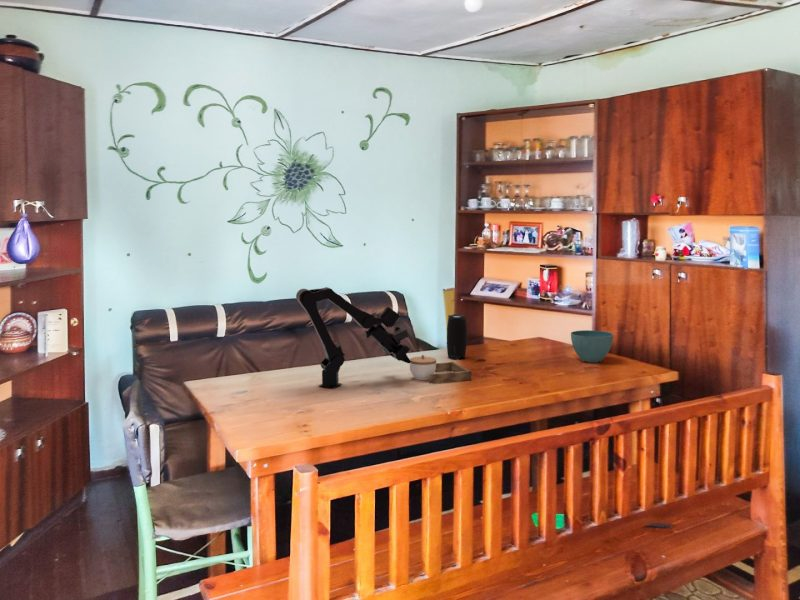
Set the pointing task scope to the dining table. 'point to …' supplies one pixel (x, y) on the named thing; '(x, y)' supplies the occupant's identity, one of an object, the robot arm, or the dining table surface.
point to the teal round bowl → (591, 344)
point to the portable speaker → (456, 336)
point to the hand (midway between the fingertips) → (409, 362)
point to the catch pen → (456, 375)
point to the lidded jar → (422, 367)
